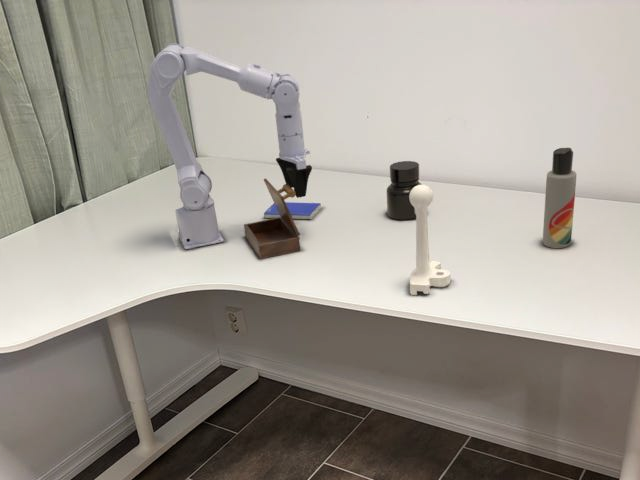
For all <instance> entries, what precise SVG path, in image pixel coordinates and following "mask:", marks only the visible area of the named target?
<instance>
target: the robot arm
mask: <svg viewBox="0 0 640 480" xmlns="http://www.w3.org/2000/svg"><path fill="white" fill-rule="evenodd" d="M184 73H185V75H186V76H191V75H194V74H197V73H205V74H208V75H211V76H215V77H218V78H222V79H225V80H228V81H232V82H234V83H237V85H238V87H239V89H240V90H241V91H243V92H246V93H248V94H252V95H254V96H256V97H260V98H262V99H265V100H272V101H273V103H274V105H275V115H274V116H275V123H276V132H277V142H278V151H279V153H278V157H277V158H275V161H276V163H277V165H278V166H279V168H280V171H281V173H282V177H283V179H284V183H285V184H288V185H289V186H290V187H291V188H292V189H293V190H294V191H295V192H296V195H295V197H296V198H297V199H298V198H303V197H306V195H307V188H308V183H309V182H308V181H309V178H310V174H311V173H312V170H313V166H312V165H310V164H307V161H306V160H307V159H306V156H307V155H310V154H311V150H310V149H309V148H306V147H305V139H304V129H303V118H302V111H301V102H300V100H299V99H300V84H299V82H298V80H297V79H296V78H295V77H293V76H292V75H291V74H288V73H283V74H282V72H281V71H279V70H277V71H276V72H274V71H271V70H269V69H266V68H263V67H261V63H259V62H254V64H252V63H247V64H245V65H243V66H239V65H237V64H235V63H232V62H230V61H227V60H226V59H225V60H224V59H222V58H219V57H218V56H214V55H213V54H210V53H207V52H204V51H202V50H199V49H197V48H194V47H192V46H187V45H186V46H183V45H182V44H179V43H173V42H172V43H170V44H167V45H166V46H165V47H163V49H162V50H161V51H160V52H158V54H156V56H155V57H154V58H153V61H152V63H151V64H150V66H149V77H148V83H147V90H146V95H147V96H146V97H147V98H148V101H149V104H150V106H151V109H152V111H153V113H154V117H155V119H156V121H157V124H158V126H159V129H160V131H161V133H162V136H163V139H164V142H165V144H166V146H167V149H168V152H169V153H170V156H171V158H172V161H173V164H174V166H175V169H176V175H177V183H178V185H179V188H180V191H179V198H180V201H181V203H182V207H179V208H176V209H175V210H174V211H175V212H174V213H175V217H176V223H177V228H178V237H179V240H180V242H181V244H182V247H183V248H184V250H190V249H196V248H200V247H205V246H210V245H215V244H219V243H223V242H225V239H224V238H223V236H222V235H221V233H220V231H219V224H218V219H217V212H216V207H215V201H214V198H213V197H212V196H211V195H210V193H211V192H212V188H213V182H212V179H211V178H210V176H209V175H208V174H207V173H206V172H205V171H204V169H203V167H202V164H200V162H199V161H198V160H197V157H196V154H195V152H194V150H193V148H192V144H191V141H190V139H189V137H188V134H187V131H186V129H185V126H184V124H183V121H182V118H181V115H180V113H179V111H178V108H177V106H176V102H175V100H174V98H173V95H172V93H173V90H174V88H175V86H176V84H177V82H178V80H179V79H180V78H181V77H182V76H183V74H184Z"/></svg>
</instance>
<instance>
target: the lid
mask: <svg viewBox="0 0 640 480" xmlns="http://www.w3.org/2000/svg"><path fill="white" fill-rule="evenodd" d="M263 182H264V184H265V186H266V188H267V190H268V193H269V195H270V197H271V199H272V201H273V204H274V203H275V206H276V208H277V210H278V212H279V214H280V216H281V217H282V218H283V220H284V221H285V222H286V223H287V224H288V225H289V227H290V228H291V229H292V230H293V231H294V232H295V234H296V235H297V236H298V237H300V235H301V234H300V232H299V230H298V228H297V225H296V223H295V221H294V219H293V218H292V216H291V214H290V212H289V210H288V207H287V205H286V203H285V202H286V200H287V199H289V198H292V199H294V198H295V197H296V192H295V191H294V188H291V187H290V186H289V185H288V184H286V183H285V184H283V185H282V188H280V189H277V188H276V187H275V186H273V184H272V183H271V182H270V181H269V180H268V179H267V178H263ZM282 193H286V194H284V195H282Z"/></svg>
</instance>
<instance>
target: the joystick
mask: <svg viewBox="0 0 640 480" xmlns="http://www.w3.org/2000/svg"><path fill="white" fill-rule="evenodd" d="M409 199H410V202H411V204H412V205H413V206H414V208H415V209H416V218H415V226H416V227H415V251H416V252H415V267H414V268H413V270H412V271H411V273H410V276H409V293H410V295H412V296H418V292H422V293H423V294H425V295H427V294H430V293H431V291H430V290H431V287H434V288H445V287H447V286H448V285H450V283H451V271H449V270H447V269H443V268H442V266H441V265H442V263H441V262H440V261H437V260H435V261H433V260H430V244H429V241H430V240H429V223H428V222H429V221H428V208H429V206H431V204H432V203H433V201H434V192H433V190H432V188H431V187H429V186H428V185H426V184H422V185H417V186H415V187H414V188H413V189H412V190H411V192H410V195H409Z"/></svg>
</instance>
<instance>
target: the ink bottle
mask: <svg viewBox="0 0 640 480" xmlns="http://www.w3.org/2000/svg"><path fill="white" fill-rule="evenodd" d="M389 179H390V184H389V185H388V186H387V188H386V210H387V215H388V217H390V218H392V219H393V220H403V221H405V220H414V219H416V209H415V208H414V206H413V205H412V204H411V202H410V199H409V195H410V192H411V190H412V189H413V188H414V187H415V186H417V185H423V184H422V183H421V182H420V181H419V180H420V164H419V162H417V161H414V160H413V161H412V160H403V161H397V162H393V163H392V164H390V166H389Z"/></svg>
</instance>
